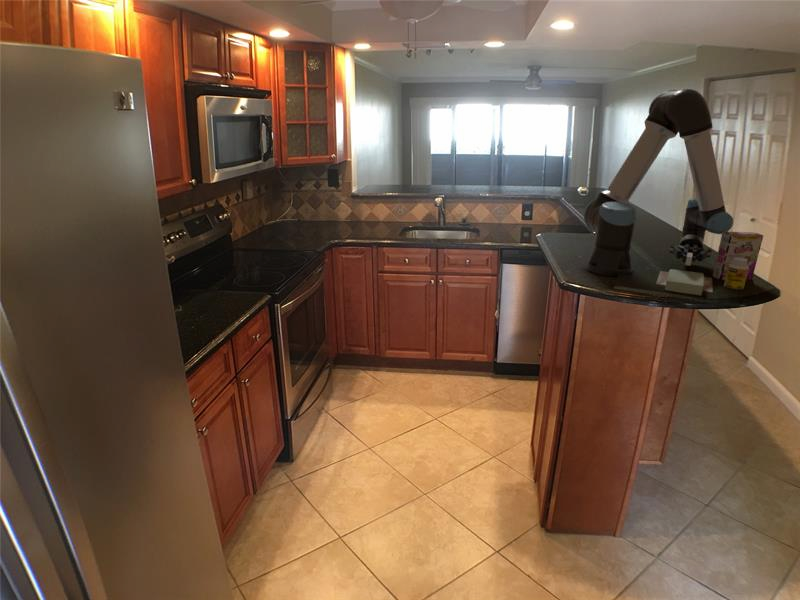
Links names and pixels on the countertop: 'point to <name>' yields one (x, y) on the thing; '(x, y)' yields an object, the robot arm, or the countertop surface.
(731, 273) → the supplement bottle
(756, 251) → the candy bar box
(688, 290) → the pale green rectangular block
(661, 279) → the board
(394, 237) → the countertop surface
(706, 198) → the robot arm
